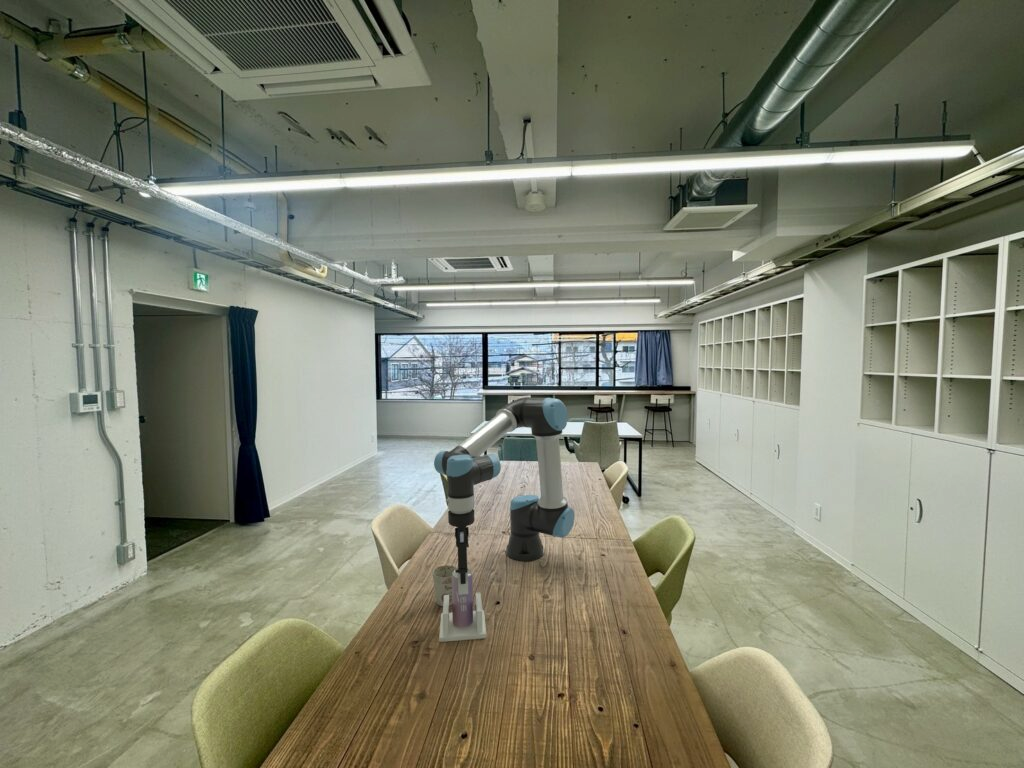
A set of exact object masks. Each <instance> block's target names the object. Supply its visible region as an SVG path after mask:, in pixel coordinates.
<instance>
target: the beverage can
mask: <svg viewBox="0 0 1024 768" xmlns="http://www.w3.org/2000/svg"><path fill="white" fill-rule="evenodd" d="M456 570H458V569H456ZM473 584H474V583H473V572H472V570H471V569H470V568H468V594H462V595H458V573H456V572H455V570H454V571H453V573H452V605H451V609H452V610H451V612H452V621H453V624H454V626H455V627H457V628H467V627H469V626H470V625H471V624H472V622H473V611H474V608H473V607H474V604H473V603H474V600H473V598H474V595H473V593H474V592H473V591H474V590H473V589H474V587H473V586H474V585H473Z"/></svg>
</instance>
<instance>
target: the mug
mask: <svg viewBox="0 0 1024 768" xmlns="http://www.w3.org/2000/svg"><path fill="white" fill-rule="evenodd" d="M456 569H458V566H454V565H440V566H437V567H436V568H434V569H433V570H432V579H433V581H432V582H433V587H434V594H435V601H436V604H437V605H438V606H440V607H443V603H444V595H449V607H451V606H452V573H453V571H454V570H456Z"/></svg>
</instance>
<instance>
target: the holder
mask: <svg viewBox="0 0 1024 768" xmlns="http://www.w3.org/2000/svg"><path fill="white" fill-rule="evenodd" d="M481 593H482V592H475V604H474V610H473V622H472V624H471V625H470V626H469V627H467V628H457V627H455V626H454V624H453V621H452V611H451V606H449V595H444V603H443V606H442V613H440V625H439V634H438V635H439V636H438V641H439V642H438V643H442V642H455V641H456V642H457V641H468V640H477V639H478V640H481V639H487V626H486V618H485V615H486V614H485V609H483V605H482V603H483V602H482V594H481Z"/></svg>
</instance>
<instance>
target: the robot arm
mask: <svg viewBox="0 0 1024 768" xmlns="http://www.w3.org/2000/svg"><path fill="white" fill-rule="evenodd" d="M567 410H568V409H567V407H566V405H565V404H564V402H563V401H562V400H560V399H559V398H552V397H529V396H526V397H520V398H517V399H514V400H513V401H511V402H509V403H507V404H506V405H504V406H503V407H501V408H500V409H498V410H497V411H496V413H495V416H494V417H493V418H491V419H490V420H489V421H487V422H486V423H485V424H484V425H482V426H480V427H479V428H478V429H477V430H476V431H474V432H473V433H472V434H471V435H469V436H468V437H467V438H465V439H464V440H463V441H461V442H460V443H459V444H458V445H456V446H455V447H454V448H453V449H451V450H441V451H439V452H438V453H437V454H436V455H435V457H434V459H433V467H434V469H435V471H436V472H437V473H438V474H441V475H445V476H446V485H447V487H446V488H447V498H446V499H445V502H446V503H447V509H448V512H447V515H448V517H447V518H448V525H449V526H451V527H455V528H454V538H455V547H456V548H457V568H458V570H455V572H456V573H458V595H462V594H468V569H469V568H468V548H470V546H469V537H470V535H469V534H470V533H469V526H471V525H472V524H474V522H475V509H474V508H475V494H474V492H475V491H474V490H475V489H474V486H476V485H478V484H481V483H483V482H487V481H490V480H493V479H494V478H497V477H498V476H499V475H500V472H501V468H502V465H501V461H500V460H499V458H498V456H497V455H494V454H492V453H491V454H484V453H485V452H486V451H487V450H488V449H490V448H491V447H492V446H494V444H496V443H497V442H498V441H499V440H500V439H502V438H503V437H504V436H505V435H507V433H512V432H514V431H515V430H516V429H518V428H529V429H530V430H531V435H532V437H534V438H535V439H536V440H535V441H536V443H535V444H536V453H537V465H538V467H537V468H538V476H539V479H538V480H539V487H540V488H539V489H540V491H539V492H540V498H539V496H537V495H535V494H525V495H519V496H516V497H513V498H512V499H511V501H510V507H509V517H510V519H509V520H510V522H509V523H510V525H509V526H510V536H509V539H508V543H507V544H506V556H507V557H508V558H510V559H513V560H515V561H523V562H528V561H535V560H538V559H540V558H542V557H543V555H544V546H543V543H542V539H541V535H540V534H544V535H548V536H551V537H553V538H556V537H557V538H560V539H563V538H565V537H567V536H568V535H569V534H570V533H571V531H572V529H573V526H574V523H575V516H576V515H575V510H574V509H573V508H572V507H570V506H569V505H568V502H569V501H568V499H567V498H566V497H565V496H564V491H563V489H564V487H563V477H562V463H561V452H560V451H561V448H560V436H561V435H562V434H563V430H564V429H565V428H566V427H567V425H568V411H567Z"/></svg>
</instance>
